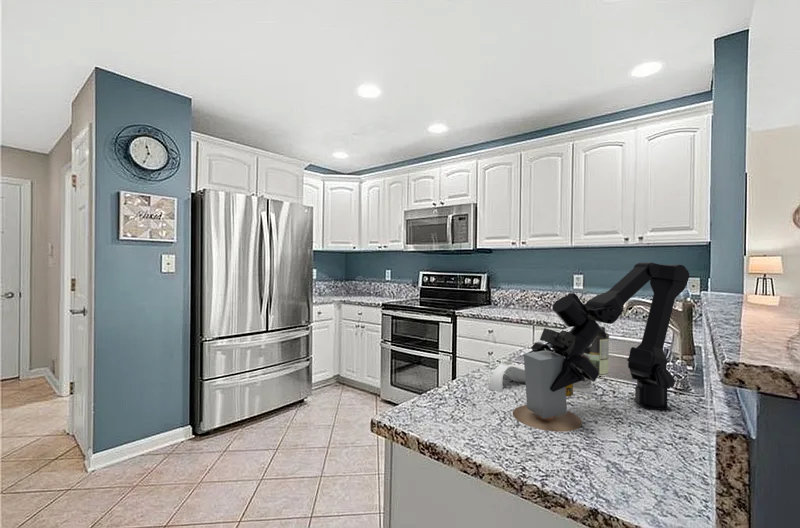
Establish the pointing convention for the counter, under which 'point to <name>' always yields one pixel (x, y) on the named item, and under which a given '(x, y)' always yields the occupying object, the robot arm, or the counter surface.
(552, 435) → the counter surface
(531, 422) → the plate
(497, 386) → the white curved piece
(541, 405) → the grey tall block
